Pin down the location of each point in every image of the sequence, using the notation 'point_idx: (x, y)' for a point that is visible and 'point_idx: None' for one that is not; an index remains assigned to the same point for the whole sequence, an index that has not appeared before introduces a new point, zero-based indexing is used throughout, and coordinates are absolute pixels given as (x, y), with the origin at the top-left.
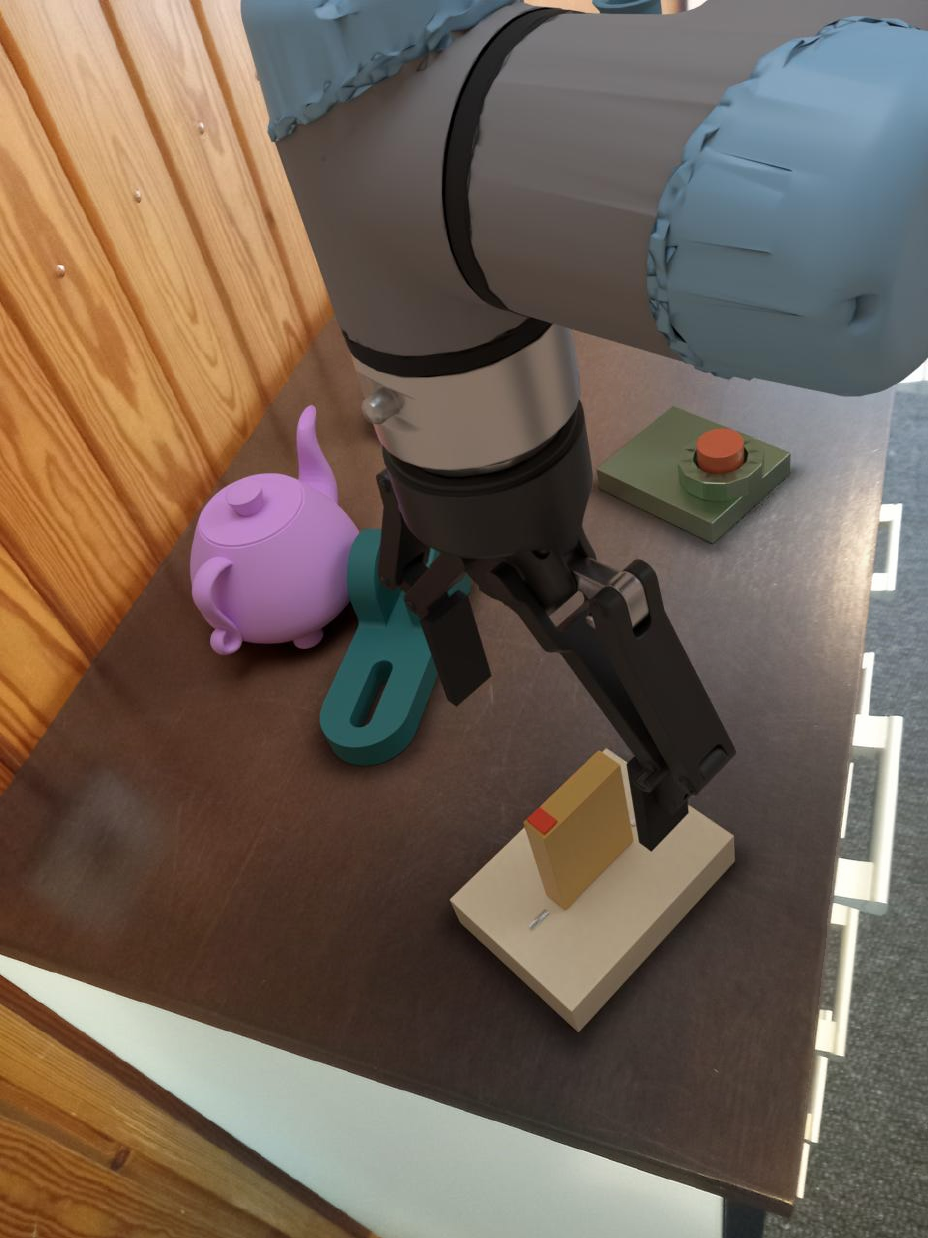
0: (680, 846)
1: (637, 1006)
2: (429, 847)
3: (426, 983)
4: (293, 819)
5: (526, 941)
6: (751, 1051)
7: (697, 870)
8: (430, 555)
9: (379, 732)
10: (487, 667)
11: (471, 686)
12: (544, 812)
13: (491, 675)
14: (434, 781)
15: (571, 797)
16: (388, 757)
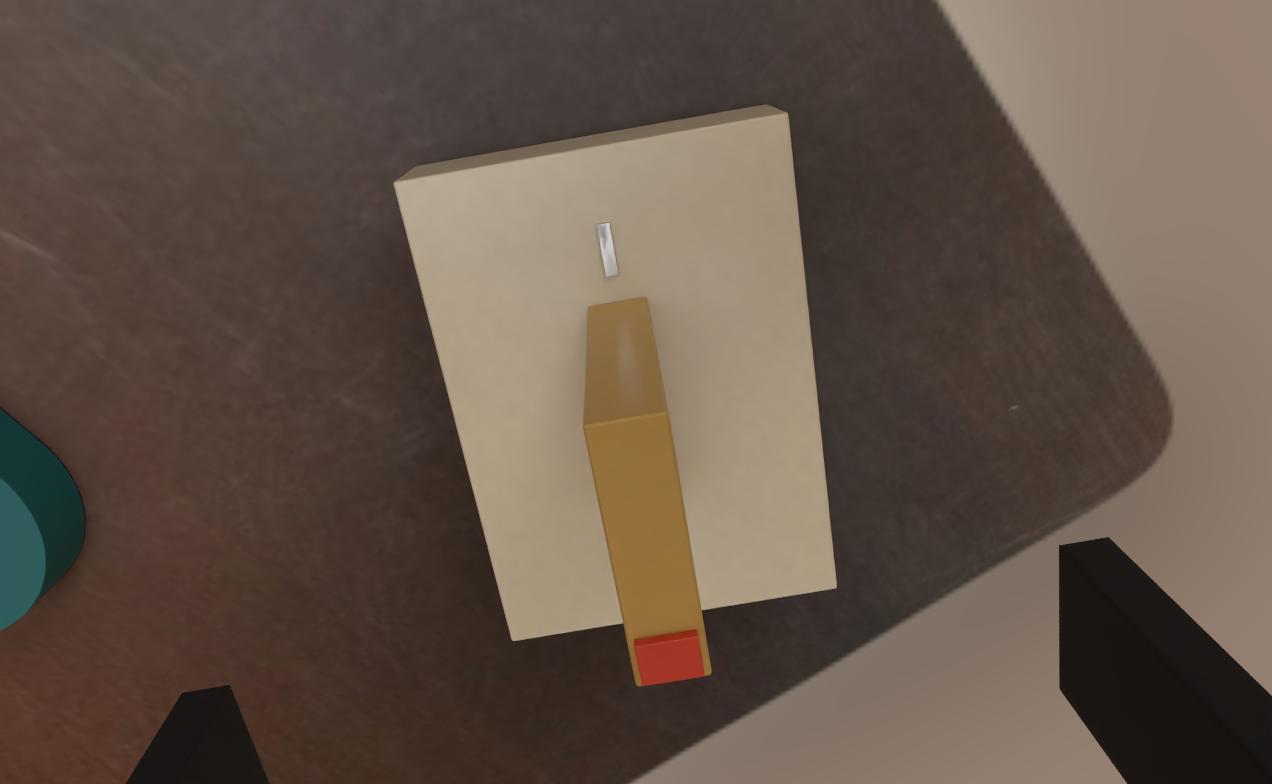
0: (725, 226)
1: (849, 440)
2: (341, 555)
3: (579, 676)
4: (123, 717)
5: None
6: (1037, 343)
7: (793, 236)
8: None
9: (18, 548)
10: (209, 726)
11: (248, 782)
12: (658, 648)
13: (227, 686)
14: (196, 474)
15: (660, 566)
16: (81, 524)
